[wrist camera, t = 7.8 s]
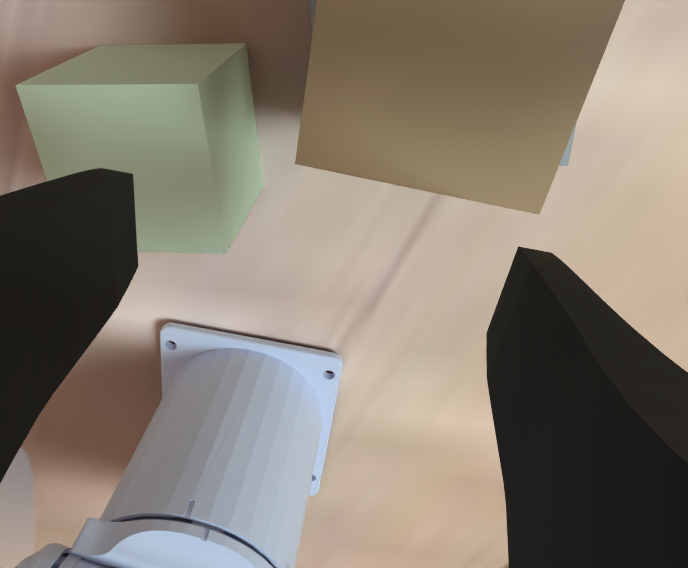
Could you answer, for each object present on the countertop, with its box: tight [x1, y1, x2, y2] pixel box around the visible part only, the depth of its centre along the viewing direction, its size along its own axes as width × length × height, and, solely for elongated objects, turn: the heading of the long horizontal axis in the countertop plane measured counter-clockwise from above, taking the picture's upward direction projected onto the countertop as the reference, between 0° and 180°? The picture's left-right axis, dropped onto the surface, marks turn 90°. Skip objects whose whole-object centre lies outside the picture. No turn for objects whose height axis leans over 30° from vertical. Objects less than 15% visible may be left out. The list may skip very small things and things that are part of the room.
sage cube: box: [15, 43, 263, 254], centre depth 19 cm, size 5×5×5 cm
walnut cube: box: [295, 0, 625, 214], centre depth 13 cm, size 5×5×5 cm
